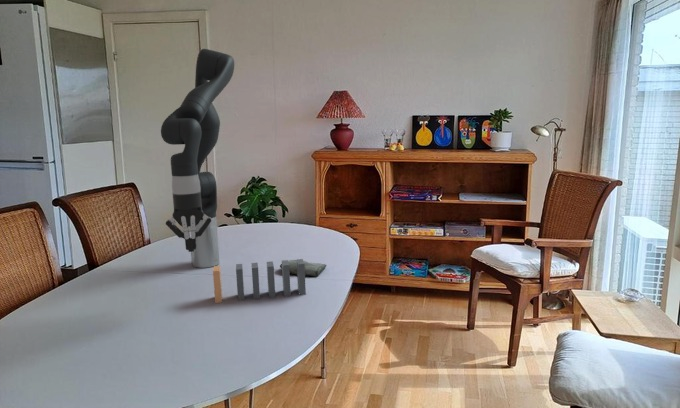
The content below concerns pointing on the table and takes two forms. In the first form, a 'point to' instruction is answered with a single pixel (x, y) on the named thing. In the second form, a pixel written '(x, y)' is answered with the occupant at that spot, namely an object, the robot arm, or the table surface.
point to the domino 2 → (240, 282)
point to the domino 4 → (271, 279)
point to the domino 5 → (286, 278)
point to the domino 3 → (255, 281)
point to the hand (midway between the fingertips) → (191, 251)
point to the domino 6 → (301, 276)
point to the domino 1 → (217, 284)
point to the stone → (306, 268)
